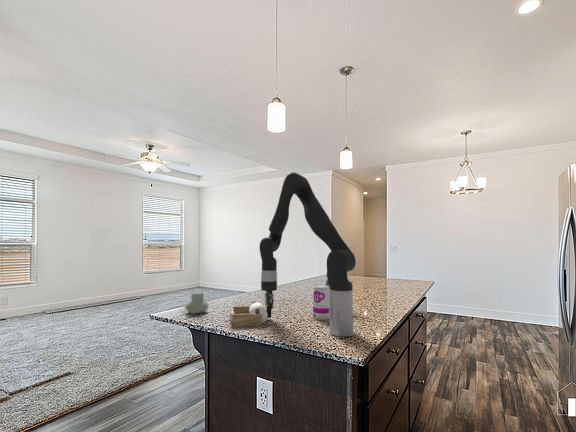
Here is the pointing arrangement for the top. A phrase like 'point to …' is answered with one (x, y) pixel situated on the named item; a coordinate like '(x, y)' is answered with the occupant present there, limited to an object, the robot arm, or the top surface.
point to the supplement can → (321, 302)
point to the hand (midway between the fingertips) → (268, 317)
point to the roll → (262, 311)
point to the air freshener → (197, 303)
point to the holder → (244, 316)
